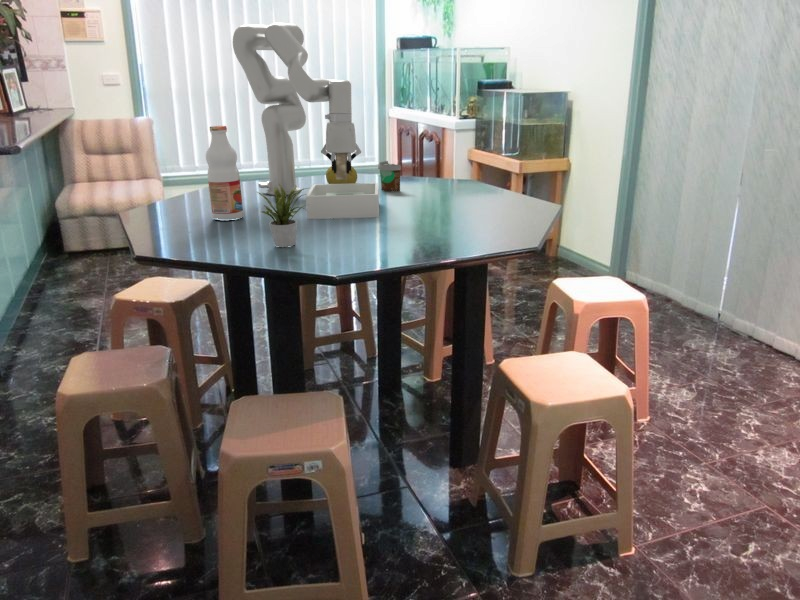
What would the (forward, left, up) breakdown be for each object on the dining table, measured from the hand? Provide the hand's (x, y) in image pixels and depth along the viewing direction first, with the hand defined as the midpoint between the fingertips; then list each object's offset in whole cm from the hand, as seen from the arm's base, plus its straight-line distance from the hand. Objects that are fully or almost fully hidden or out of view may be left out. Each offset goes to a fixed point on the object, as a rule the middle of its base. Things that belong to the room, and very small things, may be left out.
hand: (341, 172), depth 226 cm
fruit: (-1, +18, -10) cm, 21 cm away
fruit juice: (-34, -28, -10) cm, 45 cm away
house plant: (-10, -64, -10) cm, 65 cm away
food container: (+16, +16, -10) cm, 25 cm away
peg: (0, 0, -2) cm, 2 cm away
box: (+2, -21, -9) cm, 23 cm away
